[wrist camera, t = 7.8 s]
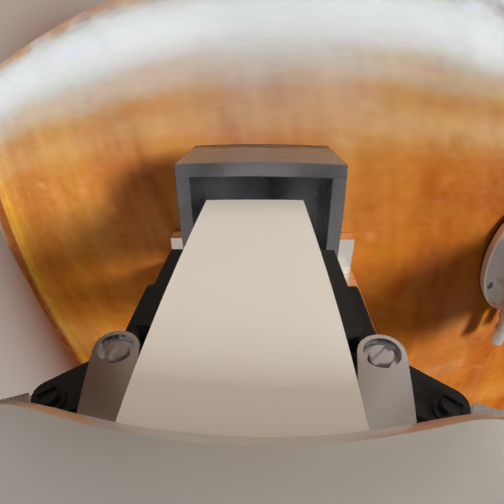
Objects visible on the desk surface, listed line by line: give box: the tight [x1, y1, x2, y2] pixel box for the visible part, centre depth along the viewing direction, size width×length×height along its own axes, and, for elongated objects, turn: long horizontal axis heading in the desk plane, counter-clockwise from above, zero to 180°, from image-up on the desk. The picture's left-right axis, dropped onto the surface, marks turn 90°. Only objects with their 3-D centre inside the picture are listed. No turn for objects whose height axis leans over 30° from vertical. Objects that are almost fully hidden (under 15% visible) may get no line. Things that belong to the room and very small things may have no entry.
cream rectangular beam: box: [116, 200, 369, 437], centre depth 9 cm, size 4×4×11 cm
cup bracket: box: [171, 144, 377, 335], centre depth 17 cm, size 14×14×16 cm
